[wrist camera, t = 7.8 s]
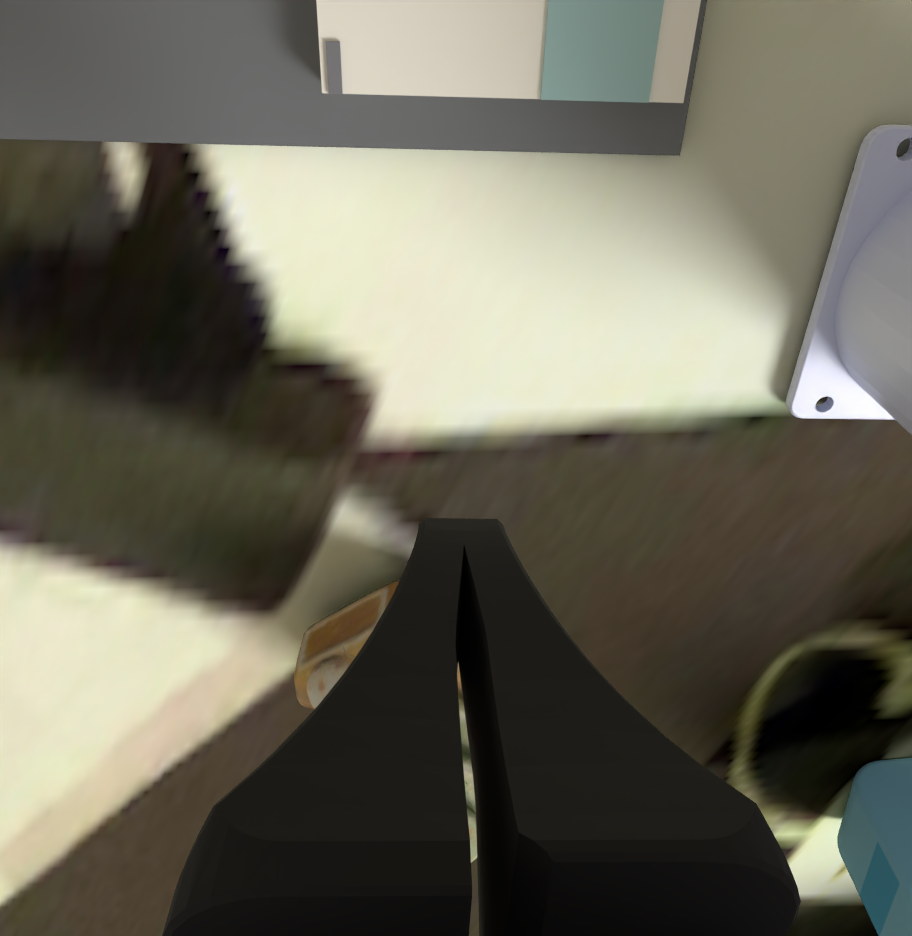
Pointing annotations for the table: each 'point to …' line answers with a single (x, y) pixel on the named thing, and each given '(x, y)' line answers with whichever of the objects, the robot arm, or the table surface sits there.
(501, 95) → the ticket
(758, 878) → the robot arm
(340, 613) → the ornament
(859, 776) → the data package
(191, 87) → the mat
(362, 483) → the table surface
